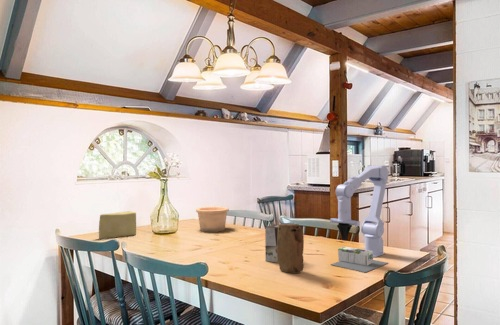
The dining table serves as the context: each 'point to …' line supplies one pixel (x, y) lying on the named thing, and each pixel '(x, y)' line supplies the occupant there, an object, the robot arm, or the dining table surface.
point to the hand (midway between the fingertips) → (344, 239)
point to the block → (290, 247)
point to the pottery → (212, 218)
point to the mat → (359, 266)
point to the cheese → (117, 225)
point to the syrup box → (355, 255)
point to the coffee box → (271, 243)
